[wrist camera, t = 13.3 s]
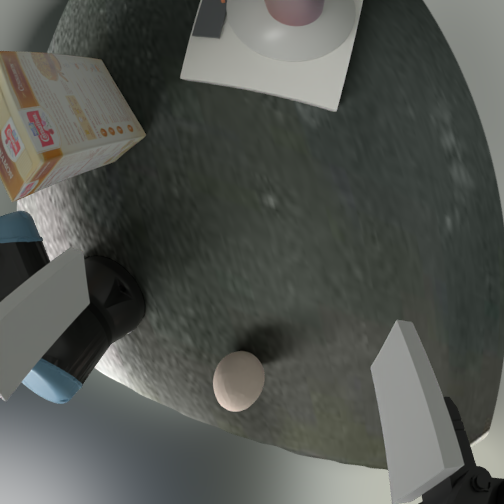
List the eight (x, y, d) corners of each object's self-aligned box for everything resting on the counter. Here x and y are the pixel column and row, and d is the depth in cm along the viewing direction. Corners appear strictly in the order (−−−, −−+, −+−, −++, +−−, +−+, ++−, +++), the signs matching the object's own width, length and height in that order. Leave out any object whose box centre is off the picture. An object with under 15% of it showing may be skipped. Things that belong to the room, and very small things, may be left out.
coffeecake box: (71, 88, 34) (-32, 97, 17) (102, 57, 32) (-5, 47, 14) (113, 164, 38) (10, 206, 21) (148, 135, 36) (41, 161, 19)
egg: (213, 353, 50) (194, 403, 40) (242, 331, 47) (227, 385, 37) (246, 377, 52) (234, 427, 42) (277, 358, 49) (270, 412, 38)
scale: (189, 80, 32) (176, 77, 29) (229, -55, 22) (222, -69, 19) (333, 111, 32) (337, 110, 28) (366, -32, 22) (372, -45, 18)
